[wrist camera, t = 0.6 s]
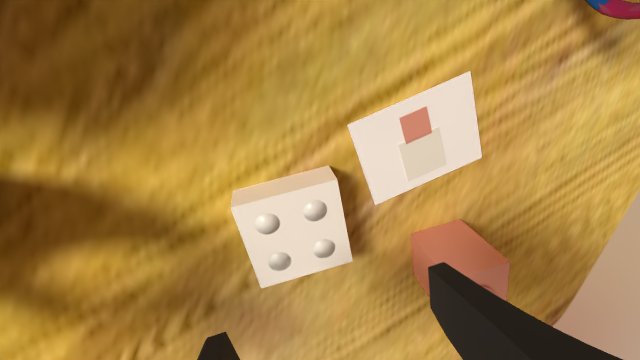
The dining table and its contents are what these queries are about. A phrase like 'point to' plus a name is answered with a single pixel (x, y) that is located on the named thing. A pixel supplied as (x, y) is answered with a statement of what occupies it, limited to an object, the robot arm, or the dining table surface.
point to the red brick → (459, 256)
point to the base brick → (292, 225)
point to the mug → (616, 8)
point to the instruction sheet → (418, 138)
